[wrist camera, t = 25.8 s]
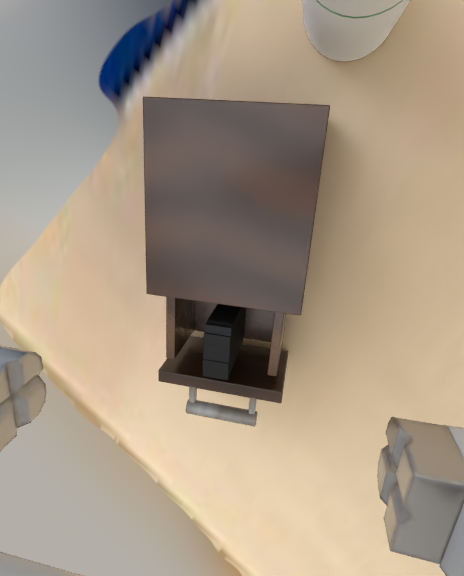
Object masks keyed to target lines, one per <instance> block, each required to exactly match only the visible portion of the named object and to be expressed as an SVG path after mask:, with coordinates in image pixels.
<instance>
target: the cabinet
mask: <svg viewBox="0 0 464 576" xmlns="http://www.w3.org/2000/svg"><path fill="white" fill-rule="evenodd" d="M329 110H330V106H329V105H313V104H291V103H270V102H248V101H226V100H204V99H182V98H160V97H143V129H144V180H145V231H146V282H147V294H152V295H159V296H166V297H173V298H180V299H187V300H194V301H201V302H209V303H216V304H223V305H230V306H237V307H244V308H251V309H258V310H265V311H273V312H280V313H287V314H294V315H301V310H302V303H303V296H304V289H305V282H306V275H307V267H308V260H309V253H310V246H311V239H312V232H313V224H314V217H315V210H316V203H317V196H318V189H319V181H320V174H321V167H322V160H323V153H324V146H325V138H326V131H327V124H328V117H329Z"/></svg>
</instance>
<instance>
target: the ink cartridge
mask: <svg viewBox="0 0 464 576" xmlns="http://www.w3.org/2000/svg"><path fill="white" fill-rule="evenodd" d="M245 319H246V308H244V307H237V306H230V305H223V304H217V306H216V307H215V309H214V310H213V312H212V313H211V315H210V317H209V318H208V320H207V322H206V324H205V333H204V352H203V376H206V377H212V378H218V379H223V380H228V378H229V376H230V373H231V370H232V368H233V365H234V363H235V360H236V357H237V355H238V352H239V349H240V347H241V344H242V342H243V338H244V331H245Z"/></svg>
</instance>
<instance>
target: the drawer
mask: <svg viewBox="0 0 464 576" xmlns="http://www.w3.org/2000/svg"><path fill="white" fill-rule="evenodd" d="M216 306H217V304H216V303H209V302H201V301H194V300H187V299H180V298H173V297H167V301H166V358H167V359H166V361H165V362H164V364H163V365H162V366H161V368H160V369H159V381H161V382H167V383H172V384H178V385H183V386H189V387H190V390H189V400H188V402H187V405H186V413H188V414H194V415H199V416H204V417H209V418H214V419H219V420H224V421H230V422H235V423H240V424H245V425H250V426H255V425H256V420H257V411H255V409H256V399H260V400H266V401H271V402H277V403H281V402H282V395H283V387H284V380H285V373H286V365H287V358H288V351H283V350H281V348H282V342H283V335H284V327H285V319H286V313H280V312H273V311H265V310H258V309H251V308H246V319H245V331H244V338H248V339H255V340H261V341H268V342H271V346H270V348H264V347H257V346H251V345H245V344H241V347H240V349H239V352H238V355H237V357H236V360H235V363H234V365H233V368H232V370H231V373H230V376H229V378H228V380H223V379H218V378H212V377H206V376H203V352H204V338H200V337H194V336H191V334H192V333H193V331H194V330H197V331H203V332H205V324H206V322H207V320H208V318H209V317H210V315H211V313H212V312H213V310H214V309H215V307H216ZM197 388H200V389H205V390H211V391H216V392H222V393H227V394H233V395H238V396H244V397H249V398H250V402H249V410H246V409H241V408H236V407H230V406H225V405H220V404H214V403H209V402H204V401H198V400H196V394H197Z"/></svg>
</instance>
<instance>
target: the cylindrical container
mask: <svg viewBox="0 0 464 576" xmlns="http://www.w3.org/2000/svg"><path fill="white" fill-rule="evenodd" d="M409 2H410V0H302V4H303V16H304V24H305V29H306V33H307V35H308V38H309V40H310V42H311V43H312V45H313V46H314V48H315V49H316V50H317V51H318V52H319V53H320V54H322V55H324V56H325V57H327V58H329V59H332V60H335V61H343V62H346V61H353V60H357V59H360V58H362V57H365V56H366V55H368V54H370V53H371V52H373V51H374V50H375V49H376V48H378V47H379V46H380V45H381V44H382V43H383V41H384V40H385V39H386V38H387V36H388V35H389V33H390V32H391V30H392V28H393V27H394V25H395V24H396V22H397V21H398V19H399V17H400V16H401V14H402V13H403V11H404V9H405V8H406V6H407V5H408V3H409Z"/></svg>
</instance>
